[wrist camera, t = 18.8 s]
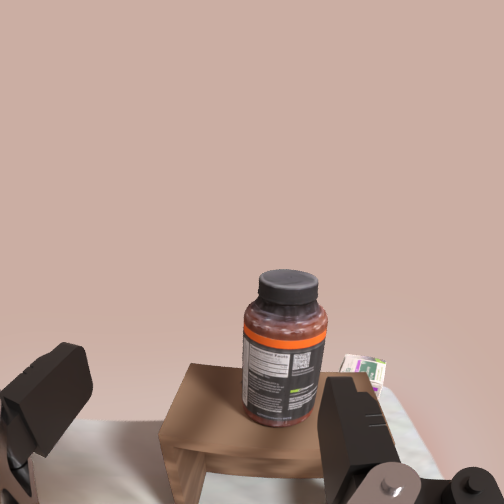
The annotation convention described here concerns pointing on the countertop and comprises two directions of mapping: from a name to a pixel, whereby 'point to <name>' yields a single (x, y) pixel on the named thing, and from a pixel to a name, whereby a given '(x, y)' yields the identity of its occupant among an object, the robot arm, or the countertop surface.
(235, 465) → the walnut cubby
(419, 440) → the countertop surface
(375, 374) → the syrup box
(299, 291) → the supplement bottle
